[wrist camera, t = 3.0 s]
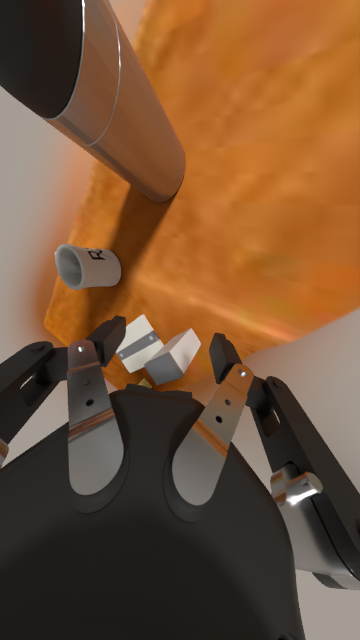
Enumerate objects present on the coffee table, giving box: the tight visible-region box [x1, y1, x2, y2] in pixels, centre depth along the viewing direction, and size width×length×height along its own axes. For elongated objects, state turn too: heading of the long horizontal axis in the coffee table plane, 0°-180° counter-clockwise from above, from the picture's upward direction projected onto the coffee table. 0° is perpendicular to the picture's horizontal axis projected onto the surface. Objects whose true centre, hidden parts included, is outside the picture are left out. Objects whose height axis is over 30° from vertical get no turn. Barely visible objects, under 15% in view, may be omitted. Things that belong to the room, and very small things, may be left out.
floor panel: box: [116, 314, 164, 373], centre depth 42 cm, size 13×18×1 cm
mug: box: [55, 244, 121, 290], centre depth 33 cm, size 12×9×10 cm
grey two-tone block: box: [144, 328, 201, 385], centre depth 29 cm, size 4×6×12 cm
